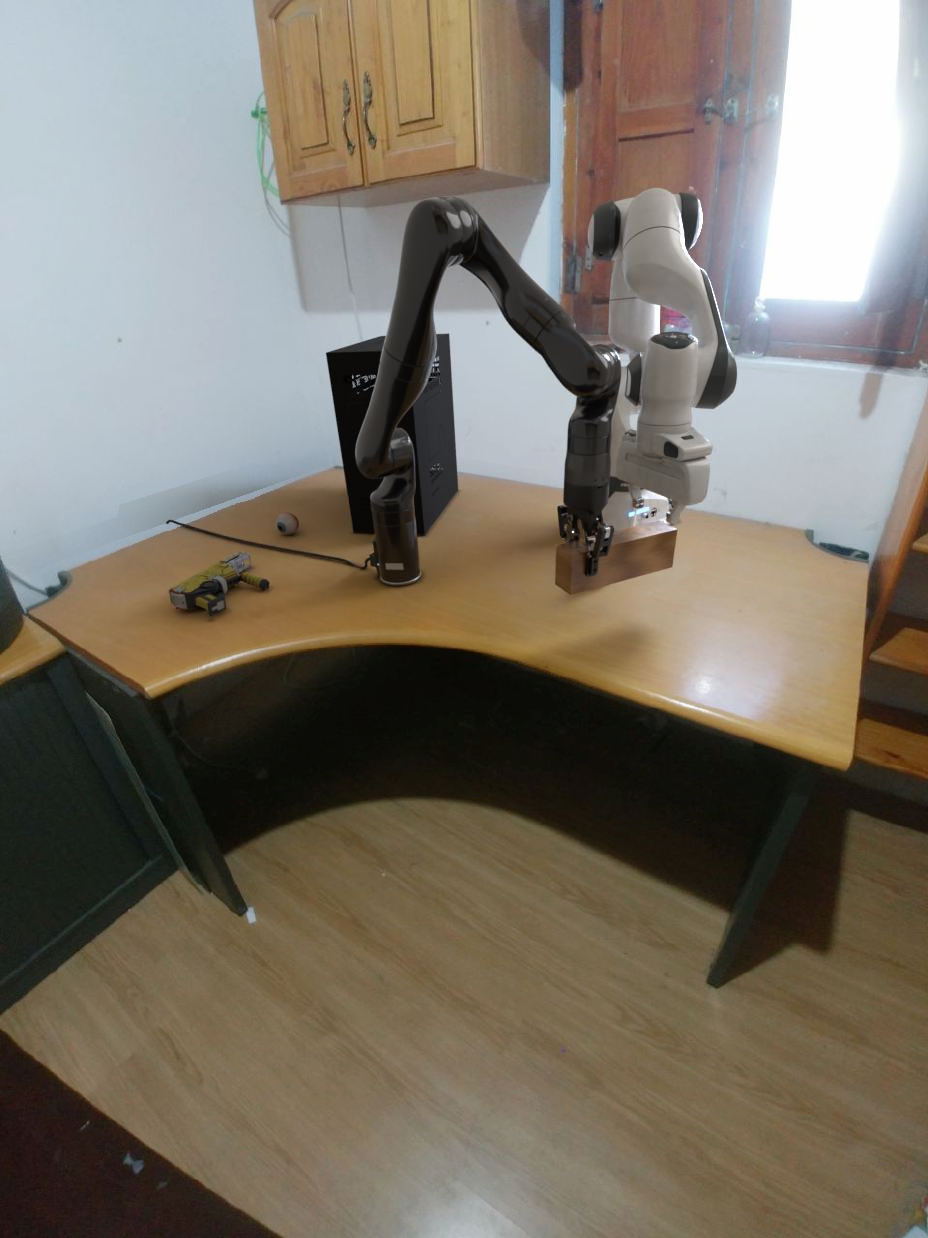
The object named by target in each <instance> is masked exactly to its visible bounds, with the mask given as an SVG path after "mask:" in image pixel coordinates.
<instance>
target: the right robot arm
mask: <svg viewBox="0 0 928 1238" xmlns="http://www.w3.org/2000/svg"><path fill="white" fill-rule="evenodd" d="M702 226H703V211H702V206H701V201H700V199H699V197H698V196H697V195H696V194H694V193H691V192H683V191H681V192H680V191H679V193H672V192H670V191H669V190H667V189H665V188H662V187H653V188H649V189H645V190H644V191H642V192H640V193H639V194H637V195H636V196H633V197H628V198H624V199H620V200H616V201H614V200H613V199H612V200H608V201H605V202H603V203H600V204H598V205H597V206H596V207H595V208H594V210H593V211H592V215H591V218H590V221H589V224H588V228H587V243H588V246H589V249H590V251H591V256H593V258H594V259H595V260H596V261H599V262H605V263H611V261H614V263H613V265H612V266H613V267H612V272H611V279H610V287H609V288H610V289H609V301H608V303H609V308H608V329H607V330H608V332H607V333H608V337H609V339H610V341H611V342H612V343H613V344H614V345H615V346H616V347H617V348H620V349H622V350H624V351H625V352H626V353H627V355H628V359H629V363H628V364H627V365H623V366H621V382H620V388H619V393H618V398H617V402H616V407H615V411H614V415H613V419H612V438H611V452H610V455H611V471H610V484H609V497H608V504H607V505H606V506H605V507H604V509H603V510H602V515H603V522H604V523H605V524H606V525H607V526H610V525H613V527H614V531H618V530H622V529H626V528H630V527H634V526H638V525H642V524H647V523H651V522H655V521H661V522H663V523H666V524H668V525H670V526H671V525H675V524H678V523H679V522H680V518H681V516H680V515H681V514H682V512H683V511H684V509H685V508H686V507H689V506H693V505H694V506H695V505H698V504H701V503H702V502H703V501H704V500H706V498H707V495H708V492H709V491H708V490H709V484H710V476H711V475H710V474H711V465H710V461H709V459H708V456H711V454H712V453H713V447H714V446H713V443H712V442H711V441H710V440H709V439H708V438H707V437H705V436H704V435H702V434H701V433H700V432H699V431H698V430H697V429H695V427H693V426H692V424H693V412H692V408H694V409H702V410H703V409H705V410H715V409H716V408H718V407H719V406H721V405H722V404H723V403H724V402H726V401H727V400H728V399H729V398H730V397H731V396H732V394H734V391H735V389H736V386H737V382H738V381H737V380H738V366H737V362H736V357H735V355H734V354H733V352H732V351H733V350H732V349H731V348H730V345H729V342H728V340H727V337H726V333H725V329H724V326H723V323H722V318H721V315H720V311H719V307H718V304H717V299H716V296H715V293H714V289H713V286H712V283H711V281H710V278H709V275H708V273H707V272H706V270H704V269H703V268H701V267H700V266H698V265H697V264H696V263H695V262H694V260H693V259H692V258H691V256H690V255H689V253H688V252H689V251H690V250H691V249H692V248H693V247H694V246H695V245H696V243H697V241H698V237H699V235H700V233H701V229H702ZM661 307H662V308H665V309H669V310H672V311H675V312H678V313H679V314H681V315H683V316H684V317H685V318H686V319H687V320H688V322H689V324H690V327H691V328H690V329H691V331H692V334H691V333H689V332H682V331H662V332H661V330H660V329H661V328H660V325H661V324H660V320H661ZM632 415H633V416H634V415H638V416H637V422H636V428H633V427H631V421H630V420H631V419H630V418H631V416H632ZM670 506H671V510H670Z"/></svg>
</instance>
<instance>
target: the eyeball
mask: <svg viewBox="0 0 928 1238" xmlns="http://www.w3.org/2000/svg"><path fill="white" fill-rule="evenodd" d="M299 525H300V522H299V519H298V517H297V516H296V515H295V514H294V513H292V512H287V511H286V512H282V513H280V514H279V515H278V516H277V517H276V520H275V527H276V529H277V530H278V531H279V532H280V533H281V534H282V535H285V536H286V535H287V536H289V535H293V534H295V533H296V532H297V531H298V529H299Z"/></svg>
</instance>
